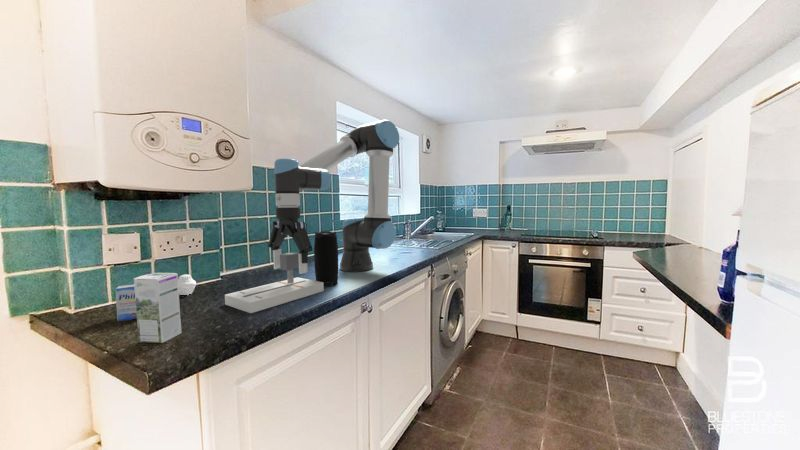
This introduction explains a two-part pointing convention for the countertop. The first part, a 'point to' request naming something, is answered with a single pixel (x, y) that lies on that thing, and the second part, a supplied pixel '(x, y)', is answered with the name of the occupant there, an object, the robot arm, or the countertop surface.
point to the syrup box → (157, 307)
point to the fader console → (272, 294)
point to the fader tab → (289, 264)
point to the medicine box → (125, 302)
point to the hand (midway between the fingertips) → (290, 270)
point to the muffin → (186, 284)
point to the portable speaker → (326, 257)
